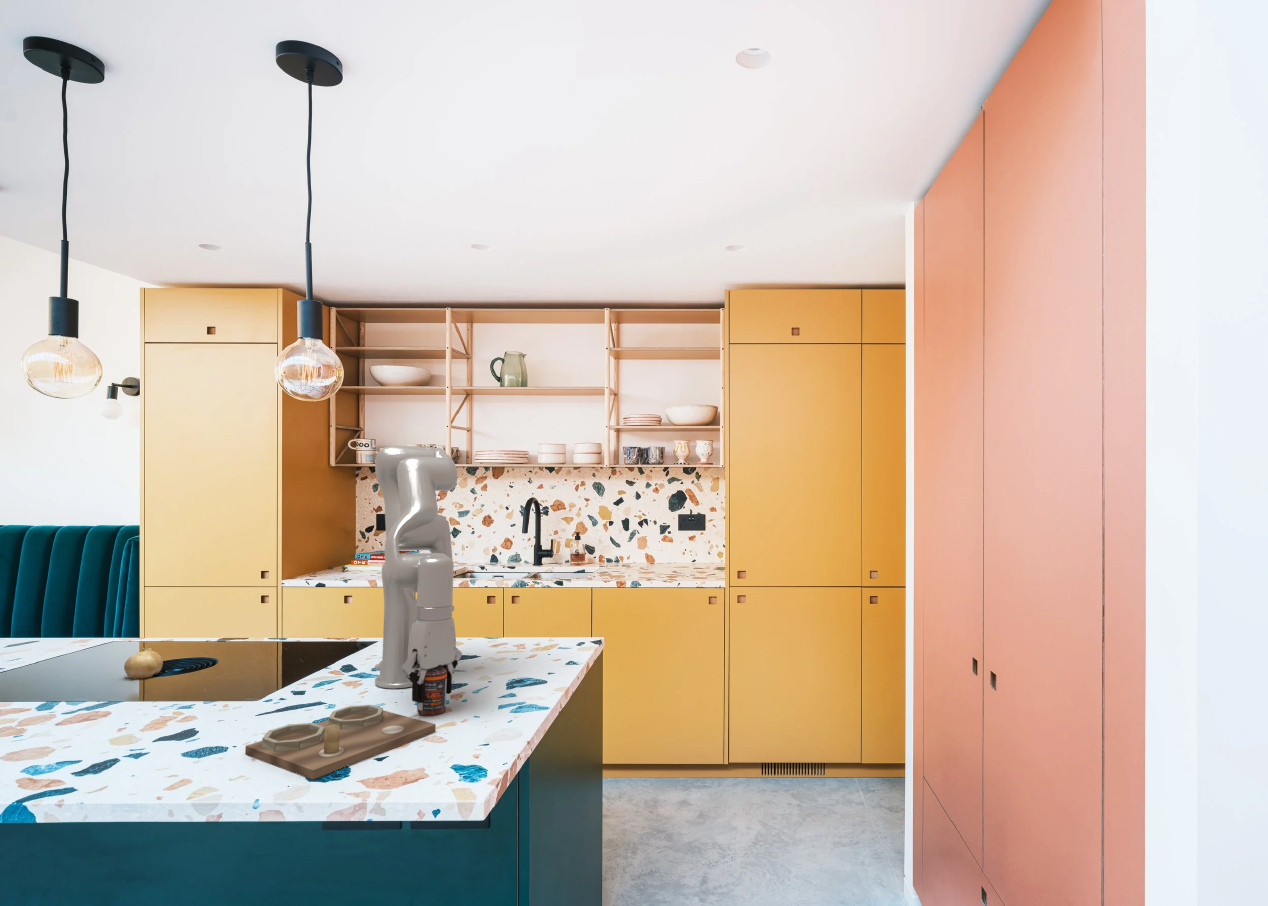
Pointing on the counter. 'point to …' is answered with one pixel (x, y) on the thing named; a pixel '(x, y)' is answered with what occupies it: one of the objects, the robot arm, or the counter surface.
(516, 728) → the counter surface
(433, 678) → the supplement bottle
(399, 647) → the robot arm
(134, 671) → the onion
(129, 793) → the counter surface
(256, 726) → the counter surface
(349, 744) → the board
